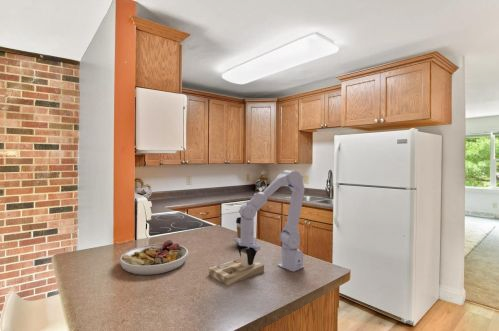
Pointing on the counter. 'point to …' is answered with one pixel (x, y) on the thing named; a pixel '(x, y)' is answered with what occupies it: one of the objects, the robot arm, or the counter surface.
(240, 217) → the coffee cup
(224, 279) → the socket block
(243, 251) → the plug
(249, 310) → the counter surface
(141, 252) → the bowl
